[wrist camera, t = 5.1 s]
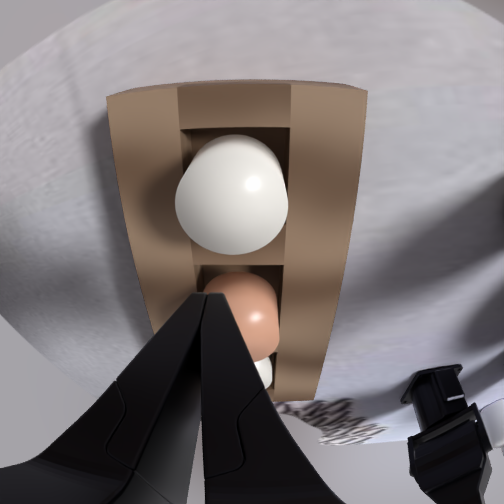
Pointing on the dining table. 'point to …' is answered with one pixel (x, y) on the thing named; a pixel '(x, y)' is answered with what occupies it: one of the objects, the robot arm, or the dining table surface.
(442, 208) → the dining table surface
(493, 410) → the eye dropper bottle
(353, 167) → the knob mount
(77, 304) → the dining table surface
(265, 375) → the knob
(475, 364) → the dining table surface
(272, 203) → the knob
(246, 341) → the middle knob
